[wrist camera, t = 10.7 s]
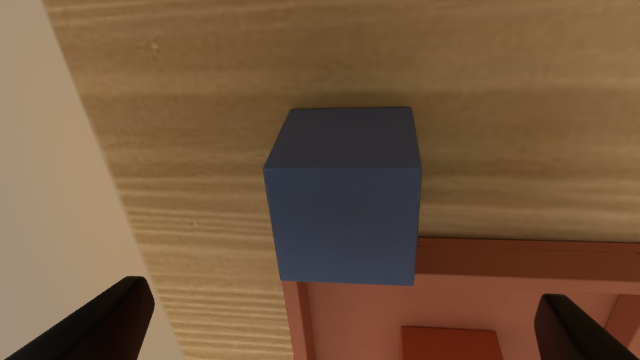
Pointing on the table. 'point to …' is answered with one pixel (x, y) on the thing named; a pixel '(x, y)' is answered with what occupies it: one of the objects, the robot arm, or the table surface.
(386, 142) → the slate block
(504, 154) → the table surface
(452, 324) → the terracotta tray
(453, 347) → the terracotta block
